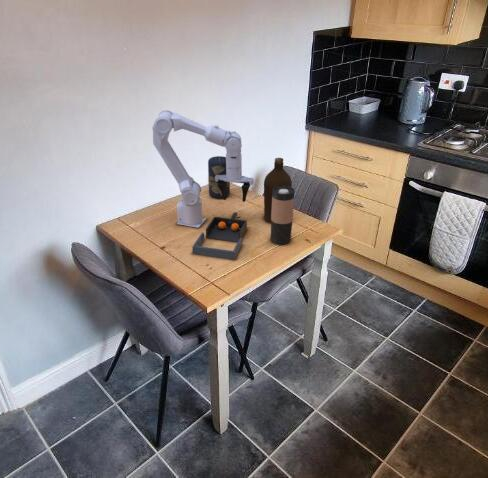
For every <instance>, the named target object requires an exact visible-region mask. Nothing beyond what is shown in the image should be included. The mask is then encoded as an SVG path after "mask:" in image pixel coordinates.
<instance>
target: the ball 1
mask: <svg viewBox="0 0 488 478" xmlns="http://www.w3.org/2000/svg"><path fill="white" fill-rule="evenodd" d="M218 227H219V228H220V229H224V228H225V227H226V224H225V222H219V224H218Z"/></svg>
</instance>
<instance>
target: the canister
mask: <svg viewBox="0 0 488 478" xmlns="http://www.w3.org/2000/svg"><path fill="white" fill-rule="evenodd" d="M216 175H226V156H222V155H216V156H212V157H209V159H208V161H207V176H208V177H207V178H208V179H207V182H208V194H209V196H210V197H212V198H217V199H223V196H222V193H221V191H220V189H219V187H218V186H217V184H218V182H216V181H215V176H216ZM230 193H231V182H227V197H228V196H229V195H230Z"/></svg>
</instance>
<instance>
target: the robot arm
mask: <svg viewBox="0 0 488 478" xmlns="http://www.w3.org/2000/svg"><path fill="white" fill-rule="evenodd" d="M172 130H173V132H177V131H181V130H185V131H187V132H191V133H193V134H196V135H200V136H203V137H204V139H205V140H206V141H207V142H209V143H212V144H214V145H217V146H220V147H222V148H225V150H226V151H225V152H226V153H225V157H226V175H216V176H215V181H216V182H218V184H217V186H218V187H219V189H220V191H221V193H222V196H223V198H222V199H223V200H224V201H226V200H227V198H228V196H227V182H230V183H235V184H242V185H241V193H242V198H241V199H242V203H245V202H246V201H247V195H248V192H249V189H250V187H251V186H253V185H254V183H255V182H254V177H249V176H244V175H243V174H242V173H243V172H242V171H243V170H242V169H243V163H242V146H243V144H242V137H241V135H240V134H239V133H238V132H236V131H231V130H225V129H223V128H220V126H219V125H218V124H215V125H214V124H211V125H209V126H206V125H204V124H201V123H199V122H198V121H194V120H193V119H190V118H189V117H188V118H187V117H186V116H183V115H182V114H179V113H177V112H172V111H171V110H167V109H166V110H161V112H160V113H159V114H158V116H157V118H156V119H155V120H154V122H153V125H152V143H153V146H154V148H155V149H156V151H157V153H158V154H159V155H160V157H161V159H162V160H163V162H164V163H165V165H166V167H167V168H168V170H169V171H170V173H171V175H172V176H173V178H174V180H175V181H176V182H177V184H178V188H179V192H180V194H181V196H182V199H179V201H178V202H177V205H176V217H177V222H176V225H179V226H185V227H190V228H197V229H199V228H200V227H201V226H202V225H203V224H204V223H205V222H206V220H207V217H203V202H202V198H201V197H200V196H201V192H202V186H201V185H200V183H198V182H197V181H195V179H194V178H193V177H192V176H190V174H189V173H188V171H187V170H186V168H185V166H184V165H183V163H182V162H181V160H180V158H179V156H178V154H177V153H176V151H175V150H174V148H173V147H172V145H171V143H170V142H169V137H170V133H171V132H172Z"/></svg>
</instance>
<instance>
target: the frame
mask: <svg viewBox="0 0 488 478" xmlns="http://www.w3.org/2000/svg"><path fill="white" fill-rule="evenodd" d="M204 241H205V232H201V233H200V235H199V236H198V238H197V239H196V240H195V242H194V243H193V245H192V254H193V255H199V256H205V257H211V258H218V259H227V260H233V261H235V260H236V258H237V256H238V254H239V253H240V250H241V248H242V246H243V238H240V239H239V241H238V242H236V245H235V246H234V248H233V250H229V249H223V248H222V249H221V248H214V247H207V246H201V245H202V244H203V242H204Z"/></svg>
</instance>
